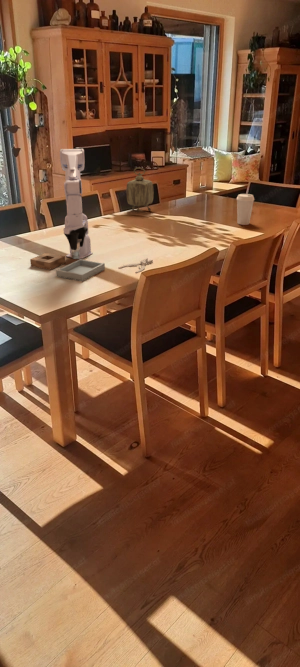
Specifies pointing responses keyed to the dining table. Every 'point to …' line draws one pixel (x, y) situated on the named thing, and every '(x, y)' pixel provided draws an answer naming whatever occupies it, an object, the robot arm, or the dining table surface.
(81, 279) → the tray
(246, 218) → the coffee cup
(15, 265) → the dining table surface
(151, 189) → the tabletop clock
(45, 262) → the brown square frame
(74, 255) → the pin
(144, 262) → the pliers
